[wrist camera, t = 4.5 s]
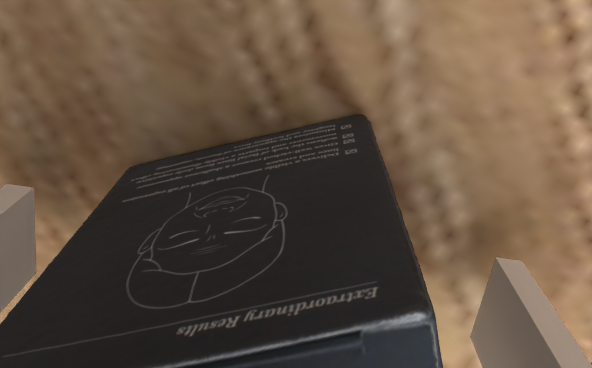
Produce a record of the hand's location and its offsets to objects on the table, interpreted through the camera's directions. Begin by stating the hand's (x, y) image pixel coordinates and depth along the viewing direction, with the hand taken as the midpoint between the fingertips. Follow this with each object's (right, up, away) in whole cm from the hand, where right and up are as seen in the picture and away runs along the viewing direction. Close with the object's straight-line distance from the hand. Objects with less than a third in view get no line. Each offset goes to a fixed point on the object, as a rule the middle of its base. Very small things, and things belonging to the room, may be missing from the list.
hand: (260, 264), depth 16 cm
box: (0, +1, +3) cm, 3 cm away
